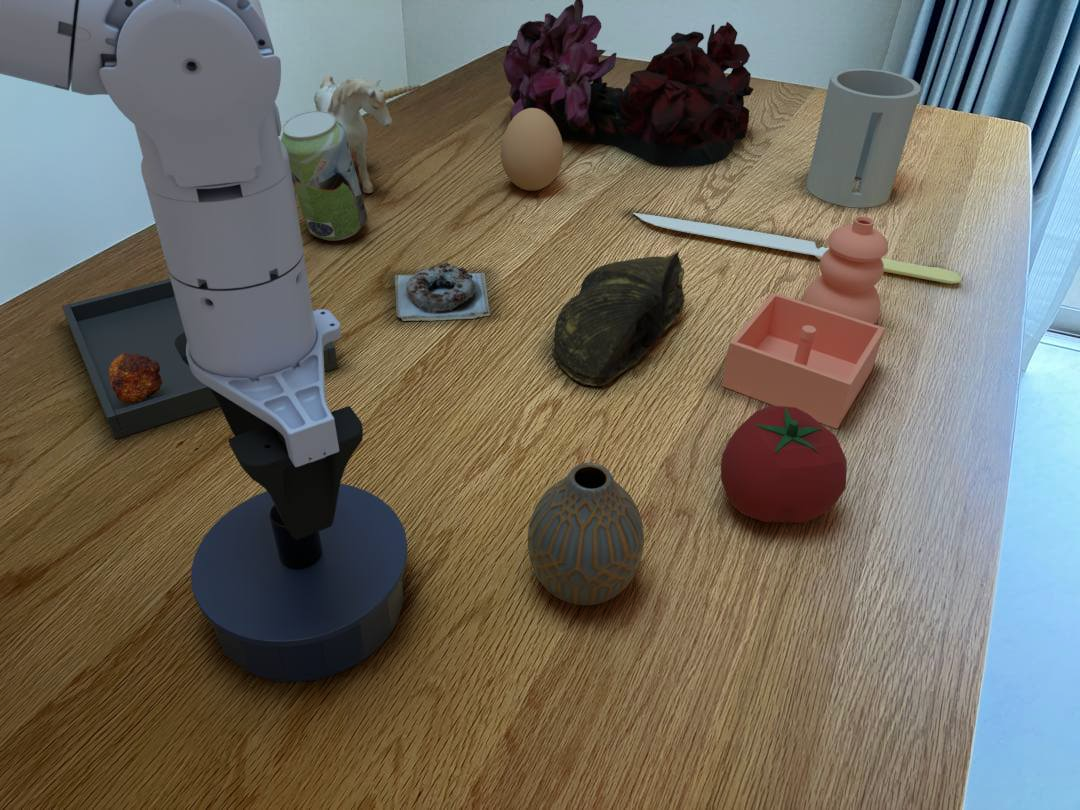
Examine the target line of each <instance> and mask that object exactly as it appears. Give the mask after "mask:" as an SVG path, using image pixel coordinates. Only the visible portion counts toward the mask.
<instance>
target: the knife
mask: <svg viewBox="0 0 1080 810" xmlns="http://www.w3.org/2000/svg"><path fill="white" fill-rule="evenodd" d="M632 214H633V215H635V216H636V217H637V218H639V220H641V221H643V222H644V223H647V224H650V225H652V226H655V227H660V228H663V229H668V230H672V231H677V232H682V233H687V234H693V235H699V236H704V237H710V238H715V239H720V240H724V241H725V240H726V241H732V242H738V243H743V244H747V245H754V246H759V247H764V248H771V249H776V250H781V251H787V252H792V253H798V254H804V255H811V256H815V258H816V259H817V260H821V258H822V256H823V254H824V253H825V252H826V251H827V250H828V249H829V248H830V247H823V246H821V247H819V248H818V247H817V245H816V242H815V241H812V240H807V239H800V238H795V237H790V236H784V235H778V234H772V233H768V232H767V233H766V232H762V231H761V232H758V231H755V230H749V229H743V228H737V227H731V226H726V225H725V226H724V225H719V224H712V223H707V222H706V223H705V222H699V221H693V220H685V219H679V218H673V217H668V216H667V217H666V216H661V215H653V214H646V213H639V212H632ZM881 259H882V262H883V265H884V272H883V273H889V274H893V275H899V276H904V277H910V278H916V279H922V280H926V281H931V282H936V283H941V284H942V283H943V284H949V285H953V284H960V283H961V282H962V281H963V278H962V276H961V274H959V273H957V272H956V271H953V270H950V269H946V268H943V267H940V266H926V265H921V264H916V263H911V262H905V261H901V260H894V259H890V258H889V259H888V258H884V257H882V258H881Z"/></svg>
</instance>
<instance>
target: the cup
mask: <svg viewBox="0 0 1080 810" xmlns="http://www.w3.org/2000/svg"><path fill="white" fill-rule="evenodd" d="M921 91H922V87H921V85H920V83H918V82H917V81H916V80H915V79H913V78H910V77H908V76H905V75H903V74H900V73H897V72H894V71H893V72H892V71H889V70H883V69H876V68H865V67H864V68H863V67H862V68H859V67H858V68H857V67H856V68H846V69H840V70H838V71H835V72H833V73H832V74H831V75H830V78H829V81H828V85H827V91H826V95H825V99H824V105H823V108H822V113H821V117H820V122H819V127H818V131H817V135H816V140H815V144H814V147H813V154H812V157H811V161H810V166H809V170H808V175H807V178H806V179H807V180H806V183H805V185H806V188H807V190H808V192H809V193H810V194H812V195H813V196H814V197H816V198H818V199H819V200H822V201H823V202H826V203H829V204H833V205H837V206H839V207H840V206H841V207H848V208H859V209H862V208H873V207H878V206H882V205H883V204H885V203H886V202H888V201H889V200H890V197H891V194H892V189H893V186H894V183H895V180H896V177H897V173H898V170H899V167H900V163H901V160H902V157H903V156H902V155H903V153H904V149H905V145H906V142H907V139H908V137H909V136H908V135H909V133H910V128H911V125H912V121H913V118H914V113H915V111H916V108H917V104H918V101H919V97H920V94H921ZM856 178H858V179H860V184H859V187H858V191H853V186H854V182H855V179H856Z"/></svg>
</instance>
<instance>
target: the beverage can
mask: <svg viewBox="0 0 1080 810" xmlns="http://www.w3.org/2000/svg"><path fill="white" fill-rule="evenodd" d="M280 140H281V142H282V143H283V144H284V146H285V148H286V150H287V153H288V156H289V162H290V168H291V174H292V181H293V187H294V192H295V193H296V194H295V195H296V197H297V199H298V203H299V207H300V209H301V212H302V216H303V218H304V222H305V225H306V228H307V230H308V232H309V234H310V235H312V236H313V237H314V238H317V239H322V240H324V241H328V242H336V241H337V242H338V241H342V240H346V239H348V238H351V237H353V236H354V235H356V234H357V233H358V232H359V231H360V230H361V229H362V228H363V227H364V226H365V225H366V223H367V220H368V214H367V210H366V206H365V201H364V198H363V194H362V191H361V187H360V184H359V179H358V175H357V172H356V167H355V164H354V161H353V156H352V152H351V147H350V148H349V144H348V140H347V136H346V133H345V130H344V128H343V126H342V125H341V124H340V123H338V122H337V121H336V118H335V117H334V115H332V114H331V113H329V112H325V111H317V110H310V111H305V112H301V113H298V114H296V115H294V116H292V117H290V118H289V119H287V120H286V121H285V122H284V123H283V125H282V134H281V138H280Z"/></svg>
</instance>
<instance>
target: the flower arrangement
mask: <svg viewBox="0 0 1080 810" xmlns="http://www.w3.org/2000/svg"><path fill="white" fill-rule="evenodd" d="M583 14H584V2H583V0H574V2H573V4H570V5H568V6H567V7H565V8H564V9H563V10H562V12H561V13H560V14H559V15H558V17H555V16H554V14H551V13H550V12H549V13H544V21H542V20H535V21H531V20H529V21H527V22H524V23H523V24H521V25H520V27H519V28H518V30H517V36H516V38H515V39H513V40H512V41H511V43H510V44H509V46H508V47H507V49H506V51H505V57H504V60H503V63H502V64H503V71H504V73H505V77H506V79H507V82H508V83H509V84H510V90H509V92H508V95H509V97H510V99H511V100H512V102H513V103H514V105H513V106H512V107H511V110H510V112H509V113H510V114H509V115H510V121H511V120H512V119H513V117H514V116H516V115H517V114H518V113H519V112H521V111H523V110H525V109H528V108H537V109H540V110H542V111H544V112H545V113H547V114H548V115H549V116H550V117H551V118H552V119H553V121H554V123H555V124H556V126H557V128H558V130H559V132H560V135H561V139H569V140H575V141H582V142H586V143H593V144H601V145H602V144H603V145H609V146H614V147H617V148H619V149H620V150H623V151H624V152H625V151H626V152H627V153H630V154H632V155H634V156H636V157H638V158H640V159H642V160H644V161H646V162H648V163H650V164H651V165H657V166H663V167H668V168H670V167H673V168H674V167H675V168H677V167H704V166H708V165H713V164H715V163H718V162H720V161H723V160H725V159H726V158H727V157H728V156H729V154H730V153H731V152H732V151H733V149H734V145H735V142H736V141H738V140H742V139H744V138H746V134H747V130H748V126H749V122H750V121H749V120H750V109H749V108H747V107H745V106H744V105H745V99H744V97H749V96H751V95H752V94H753V91H754V89H755V88H753V87H751V86H750V83H751V75H752V73H751V72H749V70H748V69H747V68H746V67H745V65H747V63H748V62H749V60H750V57H751V54H750V52H749V50H748V48H747V47H746V45H744V44H743V43H736V41H737V36H738V31H737V29H735V28H734V26H733V25H732V23H730V22H729V21H727V22H726V24H725V25H724V24H723V25H720V26H719V28H717V30H716V31H715V23H714V24H711V27H710V33H709V36H708V39H707V42H706V51H705V50H704V49H703V47H700V46H699V44H700V43H701V42H702V41H703V40H704V39H705V36H704V33H702V32H700V31H691V32H689V33H686V34H685V33H681V32H675V33H674V34H672V35H671V36H670V40H671V44H669V45H668V47H666V49H665V50H664V51H663V52H661V53H658V54H655V55H653V56H652V58H651V59H650V62H649V63H648V65H647V67H645V69H641V70H635V71H633V72H631V73H630V76H629V83H628V84H627V85H626V86H625V87H624V89H623V88H622V87H612V86H608V82H604V81H603V77H604V76H606V75H608V73H610V72H611V71H612V70H613V69H614V68H615V67H616V61H617V52H613V53H611V54H610V55H609V56H608V57H607V58H605V59H603V60H601V61H600V57H601V56H603V54H604V53H606V52H607V49H606V50H605V49H598V44H597V43H595V42H593V41H595V40H596V39H597V37H598V35H599V33H600V31H601V29H602V22H601V21H600V19H599V18H598V17H597V16H596V15H595V14H593V15H592V14H589V15H583ZM728 69H731V72H730V73H728V74H727V75H726V74H725V72H726V71H727V70H728Z"/></svg>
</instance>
